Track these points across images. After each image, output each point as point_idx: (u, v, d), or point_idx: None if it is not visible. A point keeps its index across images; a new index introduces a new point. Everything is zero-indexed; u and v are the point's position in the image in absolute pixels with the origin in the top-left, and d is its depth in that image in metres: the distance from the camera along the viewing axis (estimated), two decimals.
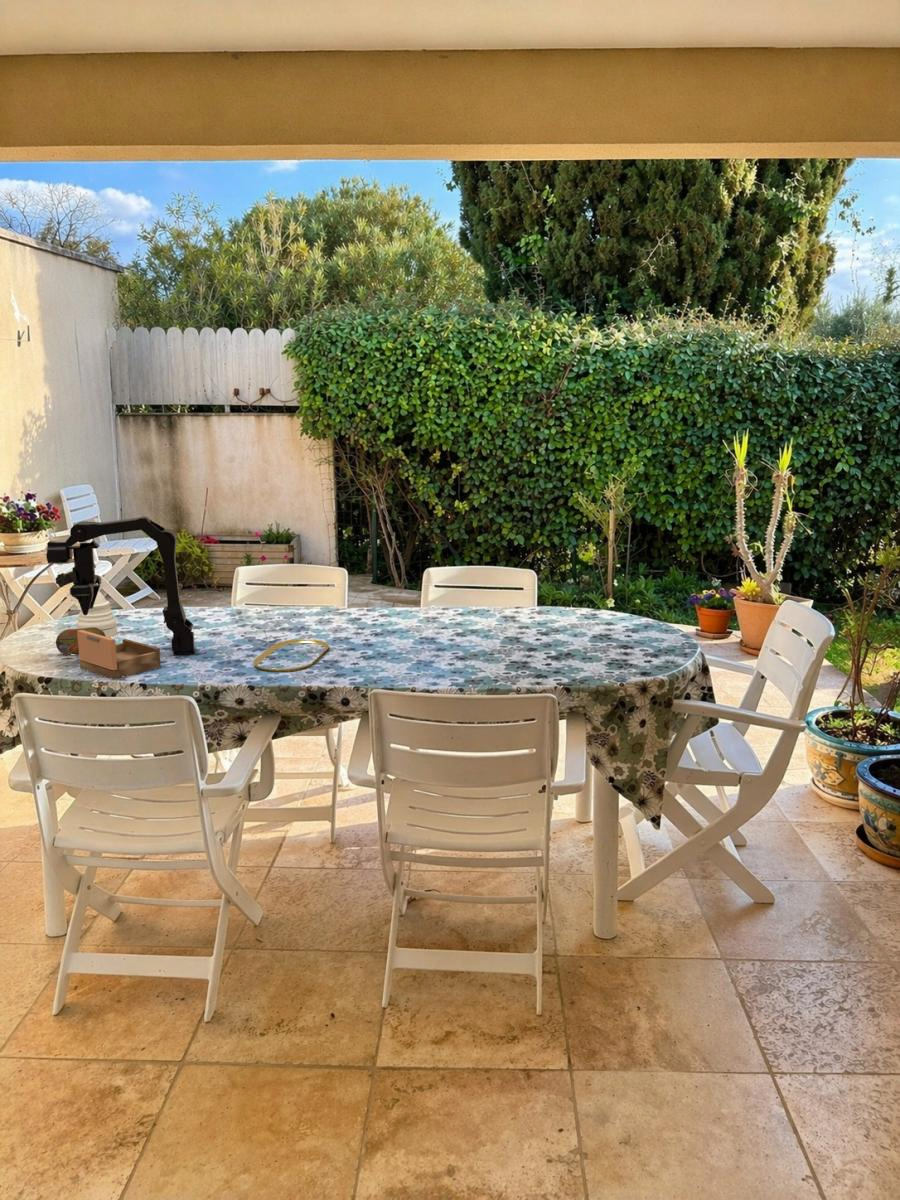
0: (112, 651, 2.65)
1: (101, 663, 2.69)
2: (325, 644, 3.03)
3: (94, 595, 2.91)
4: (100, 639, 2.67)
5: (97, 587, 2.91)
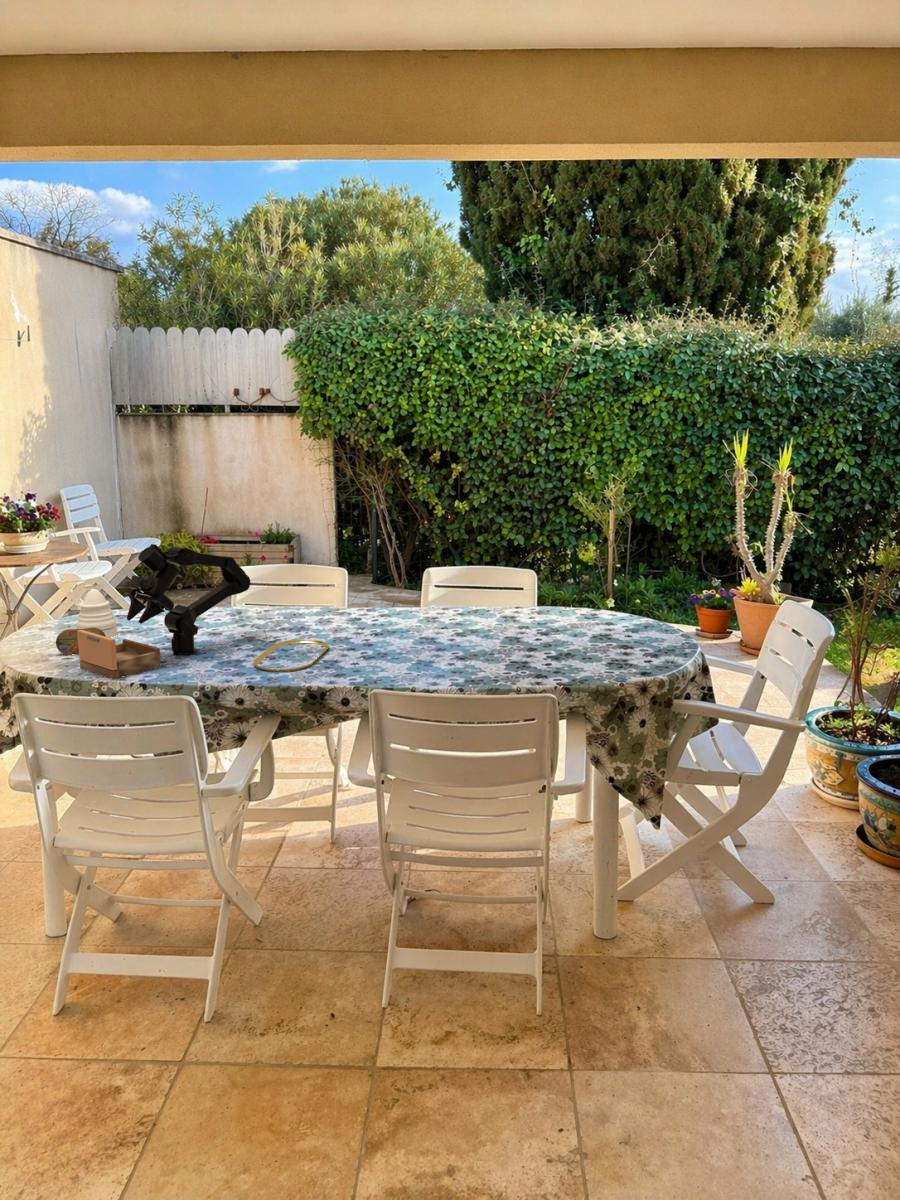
0: (112, 651, 2.65)
1: (101, 663, 2.69)
2: (325, 644, 3.03)
3: (138, 611, 2.84)
4: (100, 639, 2.67)
5: (144, 606, 2.86)
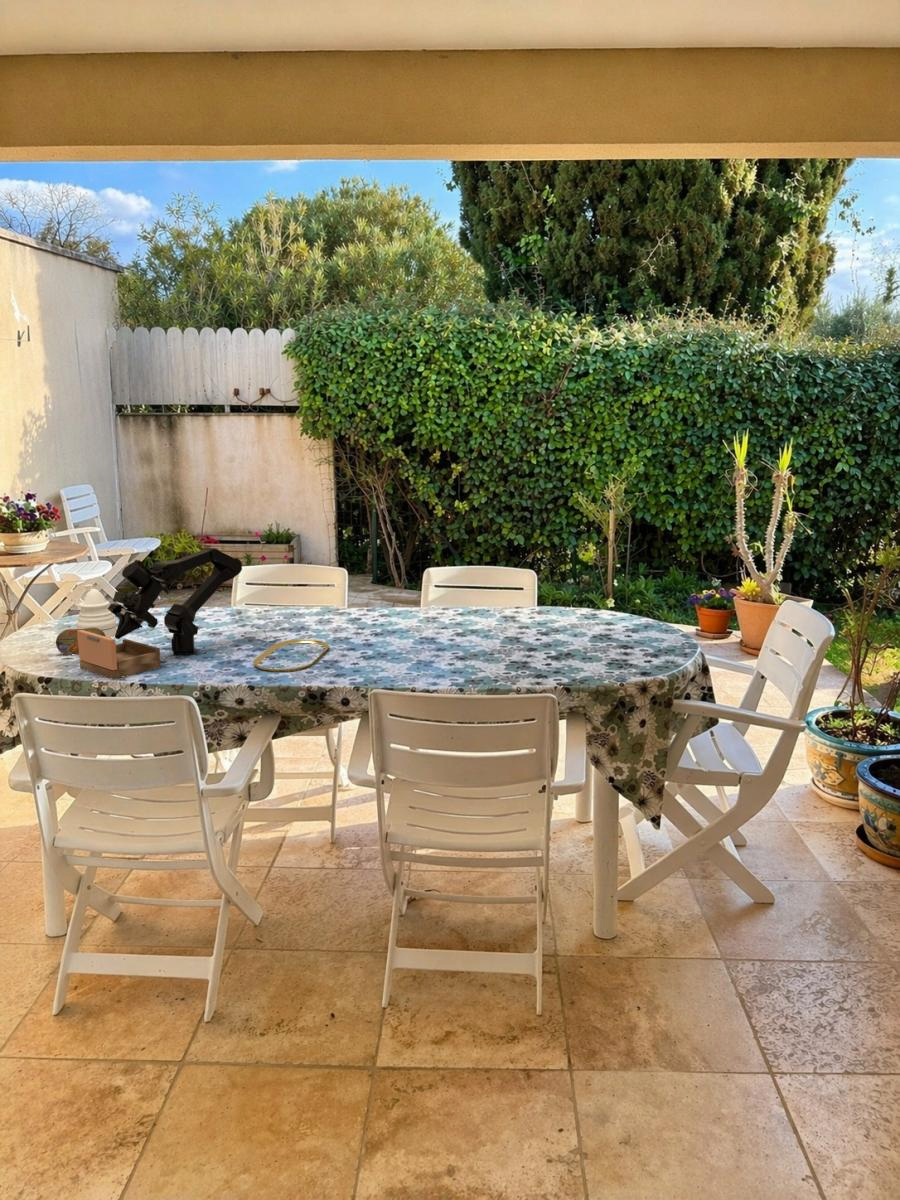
0: (112, 651, 2.65)
1: (101, 663, 2.69)
2: (325, 644, 3.03)
3: None
4: (100, 639, 2.67)
5: None
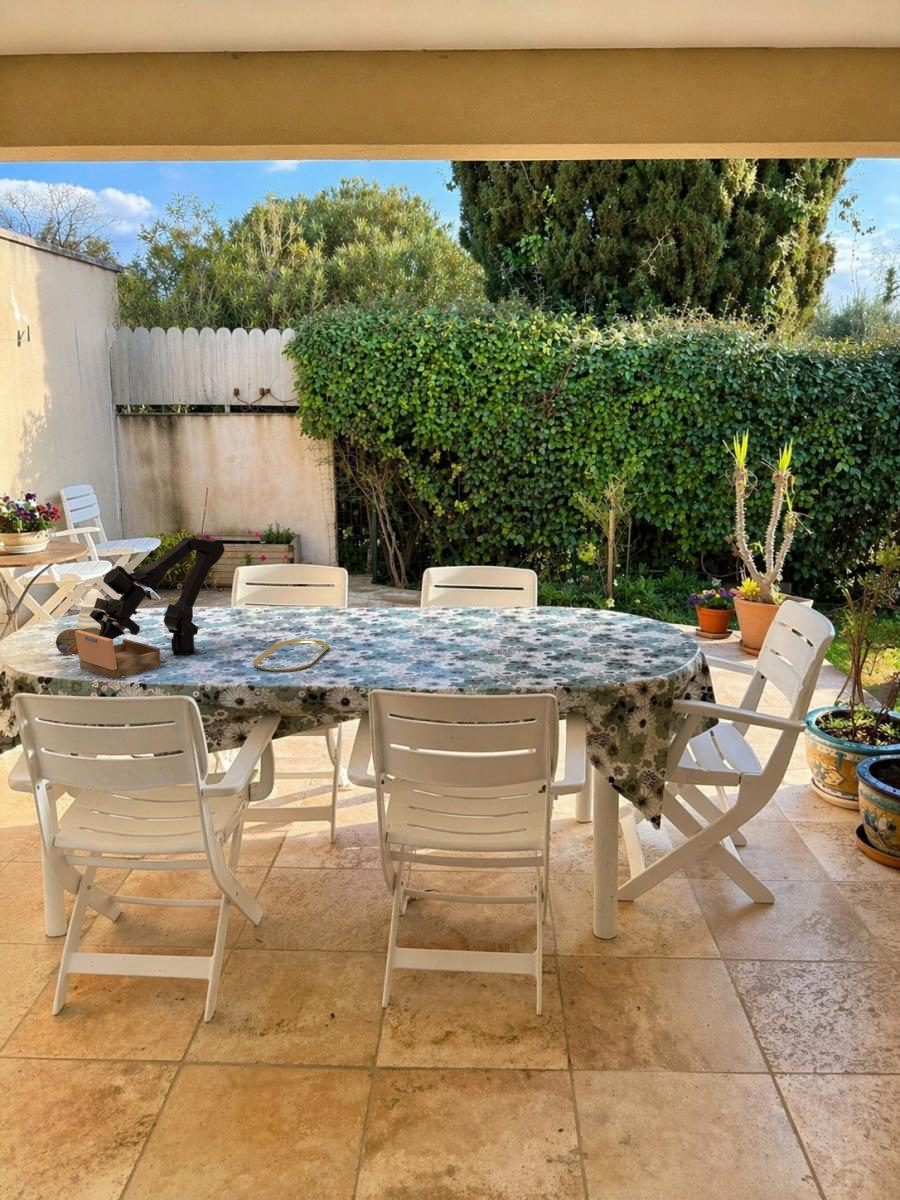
0: (111, 651, 2.65)
1: (101, 663, 2.69)
2: (325, 644, 3.03)
3: None
4: (98, 640, 2.67)
5: None
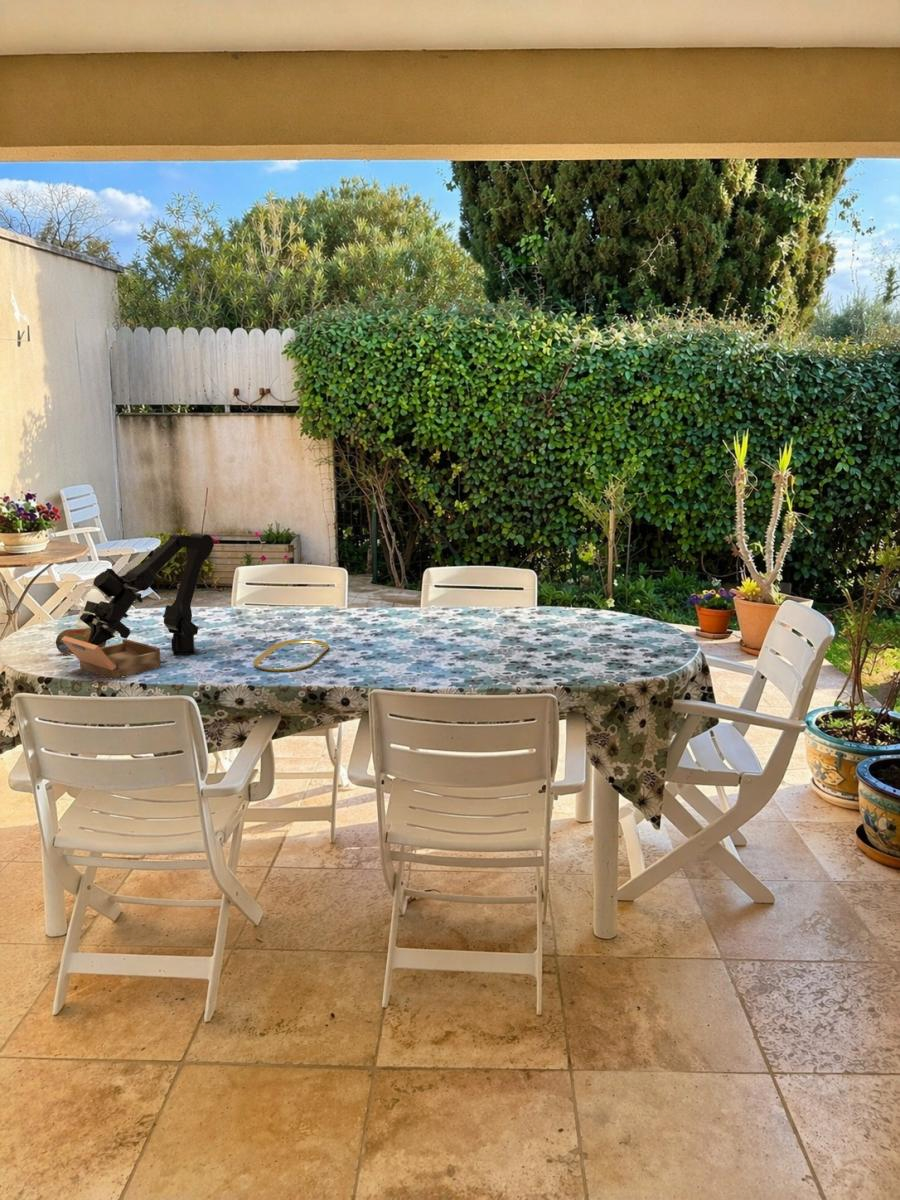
0: (102, 656, 2.63)
1: (99, 664, 2.69)
2: (325, 644, 3.03)
3: None
4: (85, 647, 2.64)
5: None
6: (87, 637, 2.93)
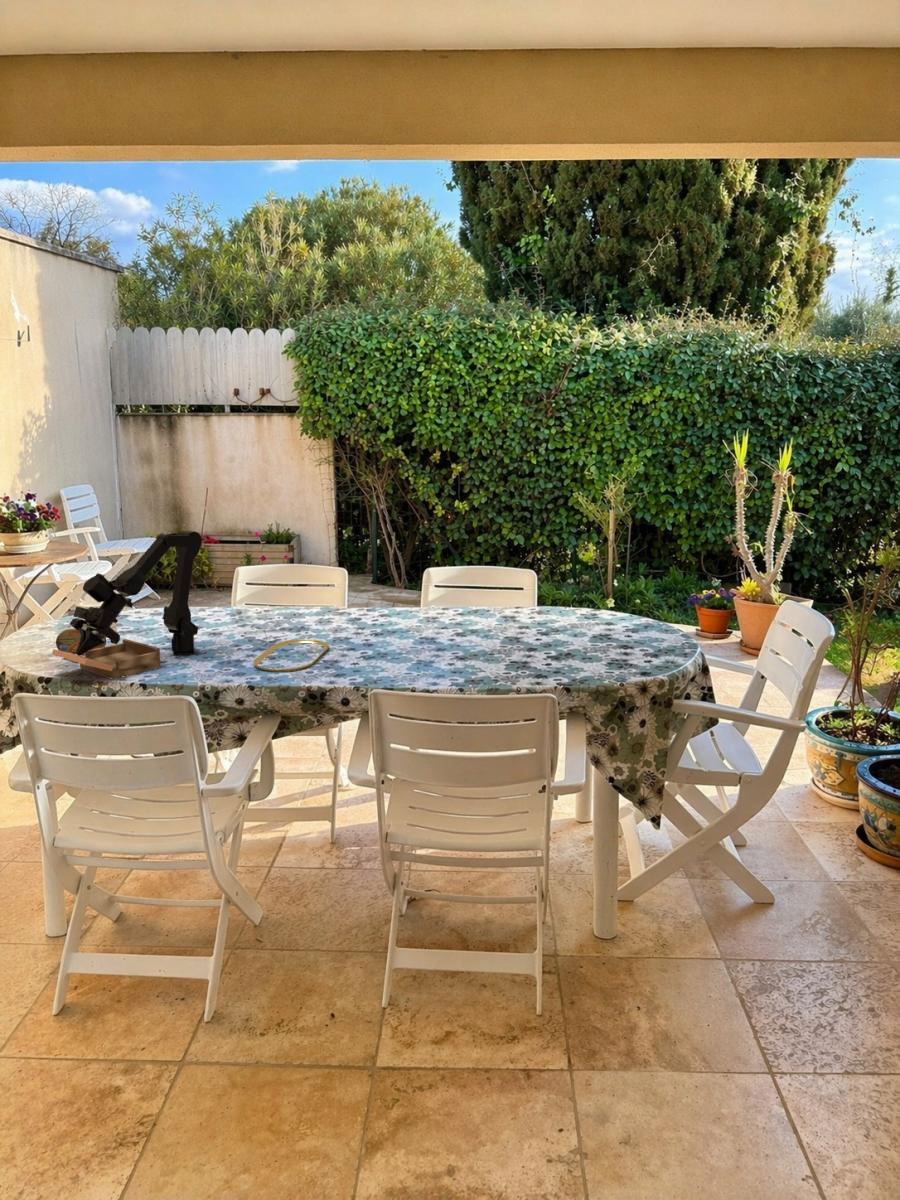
0: (95, 665, 2.62)
1: None
2: (325, 644, 3.03)
3: None
4: (76, 661, 2.62)
5: None
6: None
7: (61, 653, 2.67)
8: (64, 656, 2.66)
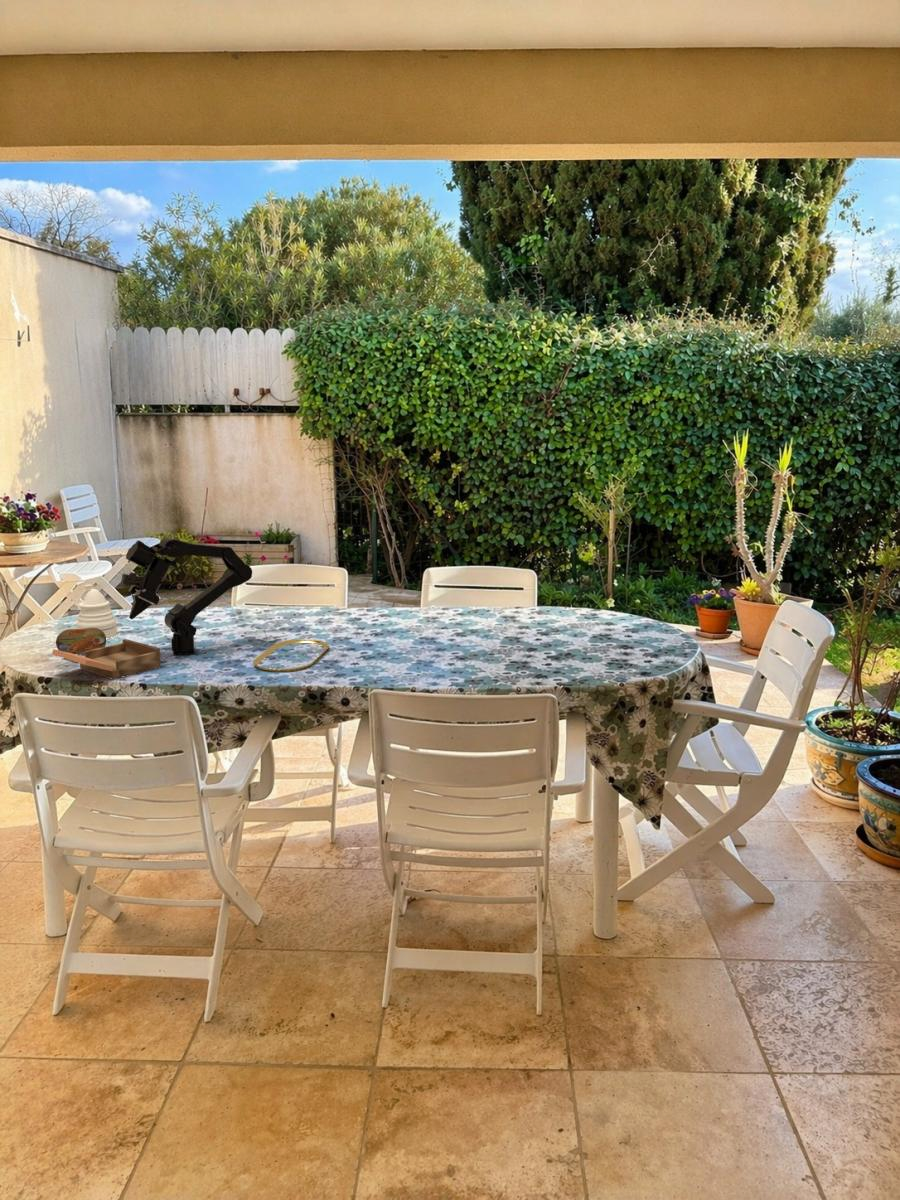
0: (95, 665, 2.62)
1: None
2: (325, 644, 3.03)
3: None
4: (76, 661, 2.62)
5: None
6: (87, 637, 2.93)
7: (61, 653, 2.67)
8: (64, 656, 2.66)
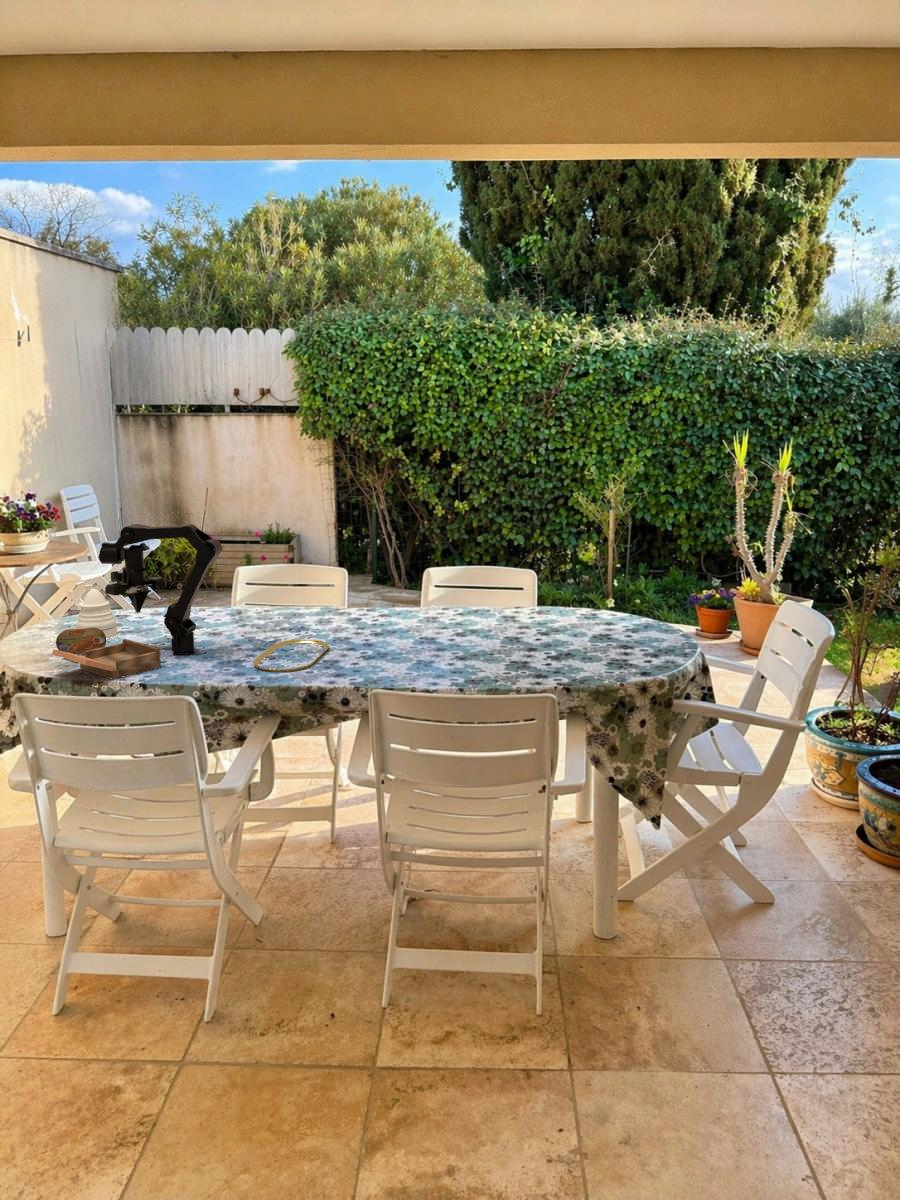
0: (95, 665, 2.62)
1: None
2: (325, 644, 3.03)
3: (140, 599, 2.93)
4: (76, 661, 2.62)
5: (142, 592, 2.92)
6: (87, 637, 2.93)
7: (61, 653, 2.67)
8: (64, 656, 2.66)
